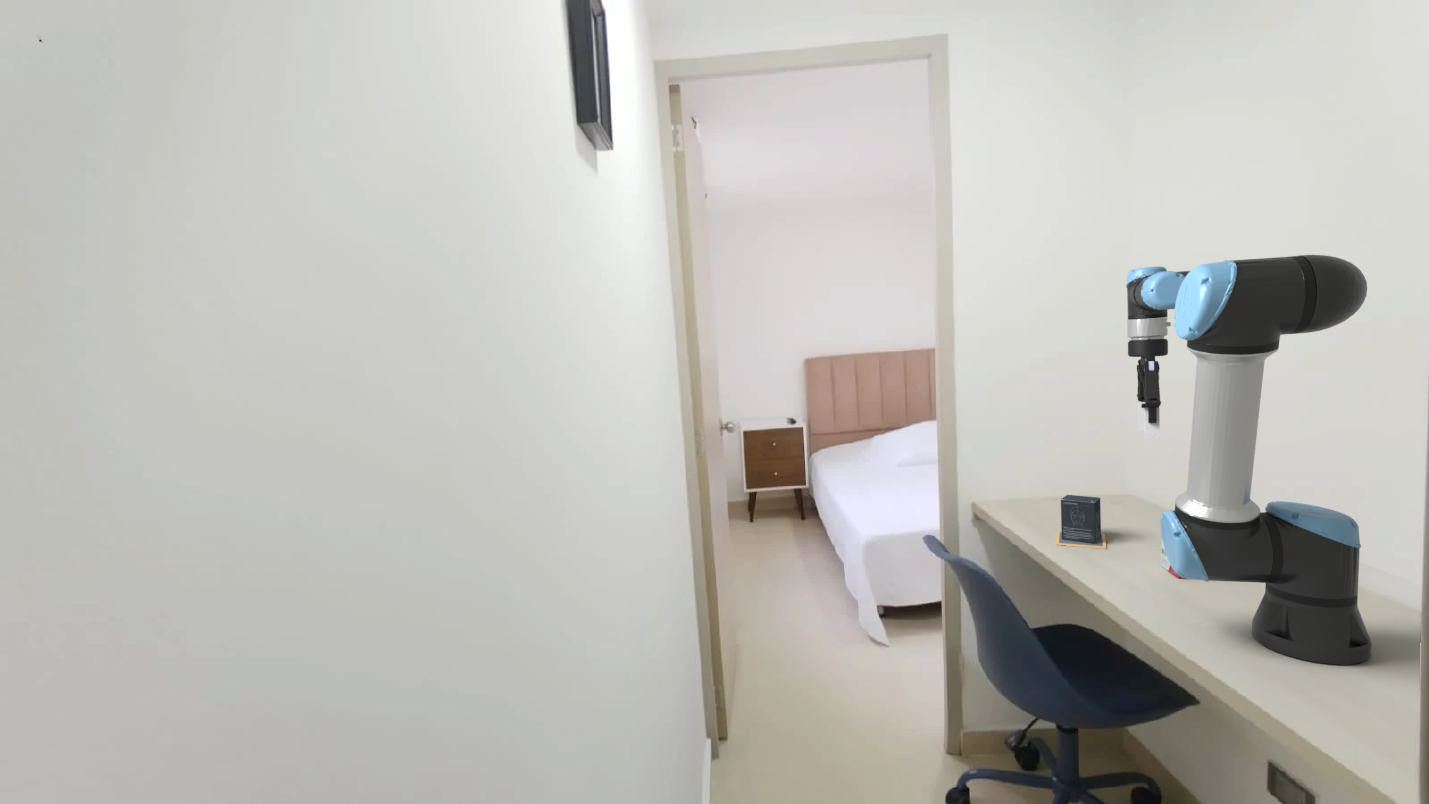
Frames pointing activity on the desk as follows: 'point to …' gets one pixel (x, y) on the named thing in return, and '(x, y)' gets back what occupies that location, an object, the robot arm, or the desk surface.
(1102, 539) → the mat
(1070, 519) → the box
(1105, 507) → the desk surface
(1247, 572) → the robot arm
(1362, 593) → the desk surface
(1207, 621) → the desk surface
